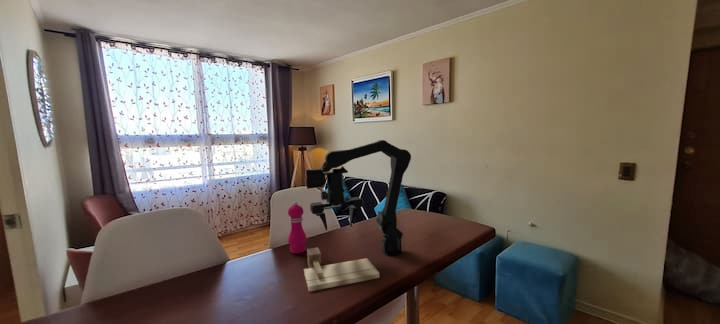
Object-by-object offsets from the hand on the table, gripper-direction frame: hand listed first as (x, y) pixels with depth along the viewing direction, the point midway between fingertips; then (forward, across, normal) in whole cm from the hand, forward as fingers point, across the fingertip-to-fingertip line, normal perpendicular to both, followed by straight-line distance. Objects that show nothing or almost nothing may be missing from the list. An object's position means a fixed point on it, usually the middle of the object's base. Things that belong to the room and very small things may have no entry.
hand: (338, 228), depth 104 cm
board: (+11, +4, +13) cm, 18 cm away
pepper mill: (+11, +14, -14) cm, 23 cm away
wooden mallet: (+11, +10, +8) cm, 17 cm away
